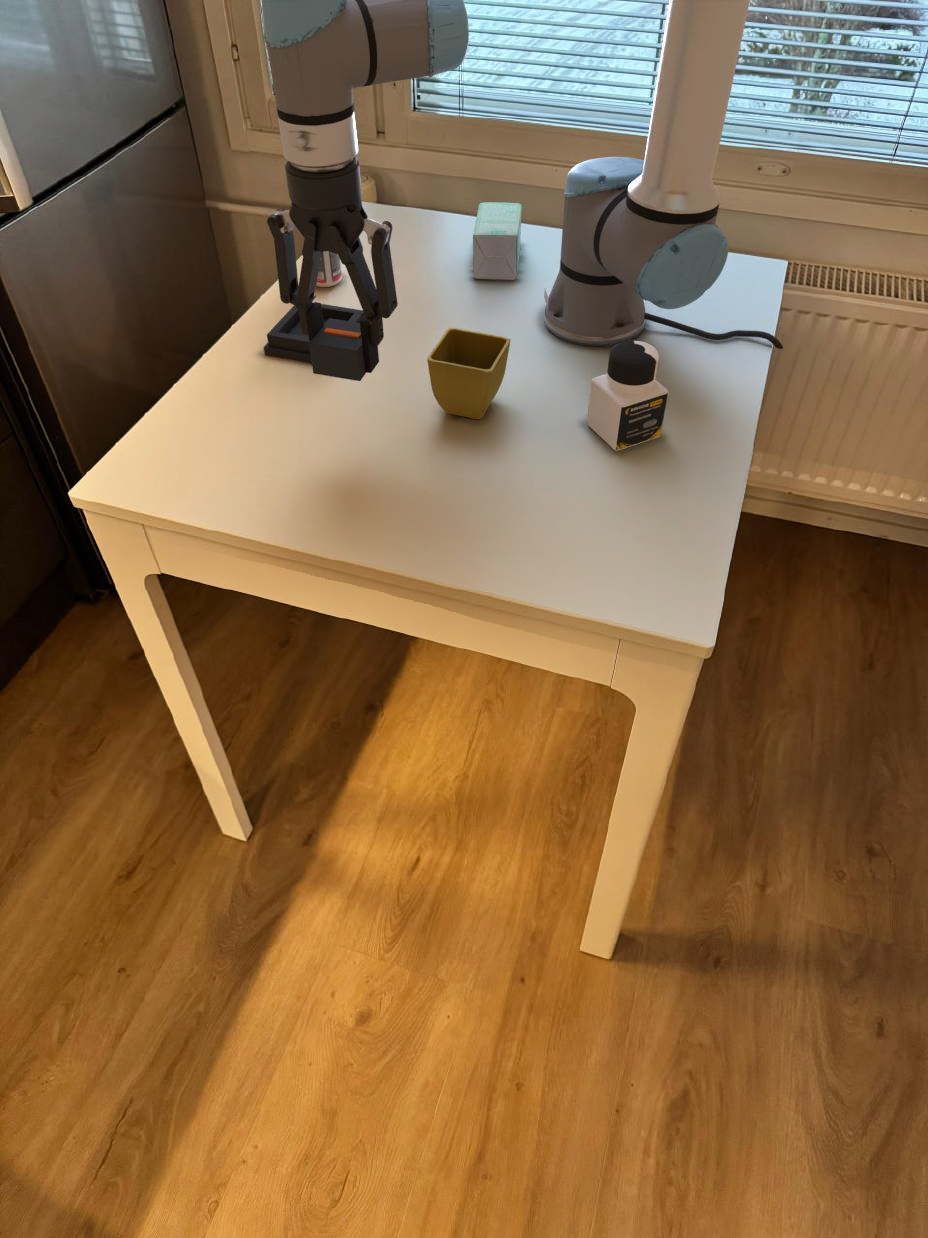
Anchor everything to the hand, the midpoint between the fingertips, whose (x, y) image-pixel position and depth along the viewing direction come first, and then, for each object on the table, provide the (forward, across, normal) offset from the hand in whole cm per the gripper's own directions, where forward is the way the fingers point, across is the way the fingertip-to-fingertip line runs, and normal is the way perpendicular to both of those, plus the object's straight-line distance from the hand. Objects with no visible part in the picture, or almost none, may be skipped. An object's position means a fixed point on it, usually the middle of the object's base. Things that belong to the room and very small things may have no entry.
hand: (345, 362), depth 109 cm
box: (+13, +3, +56) cm, 58 cm away
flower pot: (+13, +11, +13) cm, 22 cm away
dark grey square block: (0, 0, 0) cm, 0 cm away
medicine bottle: (+13, +32, +14) cm, 37 cm away
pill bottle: (+13, -22, +42) cm, 49 cm away
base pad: (+13, -16, +24) cm, 31 cm away
